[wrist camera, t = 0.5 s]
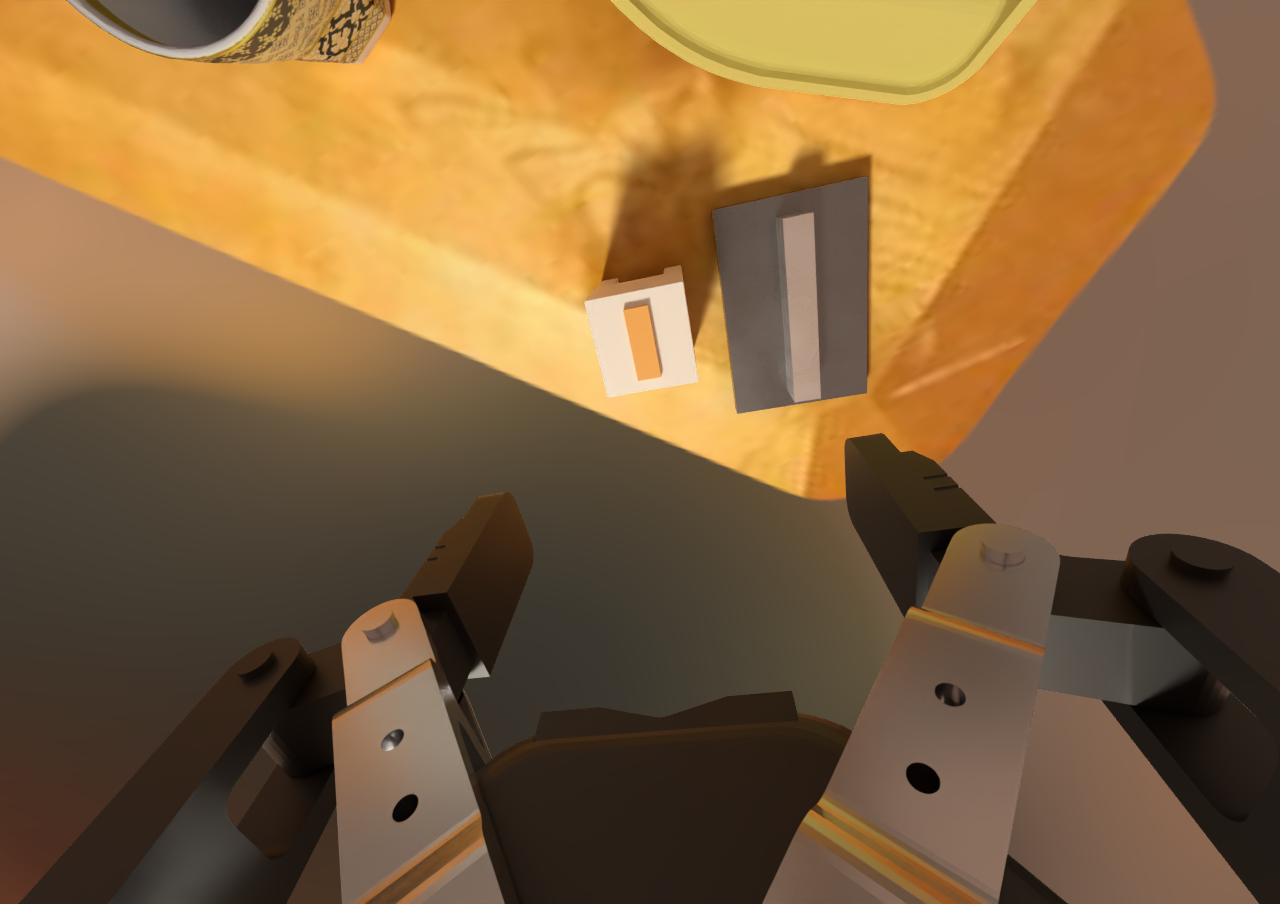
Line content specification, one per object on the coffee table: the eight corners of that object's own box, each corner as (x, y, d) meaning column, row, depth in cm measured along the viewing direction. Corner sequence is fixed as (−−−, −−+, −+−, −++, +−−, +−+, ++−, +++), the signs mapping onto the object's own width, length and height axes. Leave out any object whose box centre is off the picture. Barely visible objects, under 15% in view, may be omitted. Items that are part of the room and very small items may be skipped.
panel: (711, 210, 27) (715, 211, 25) (861, 176, 26) (882, 174, 23) (735, 407, 33) (741, 426, 30) (861, 387, 31) (878, 405, 29)
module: (601, 280, 29) (583, 302, 23) (681, 264, 29) (682, 282, 23) (619, 360, 32) (606, 399, 26) (693, 347, 31) (698, 383, 25)
